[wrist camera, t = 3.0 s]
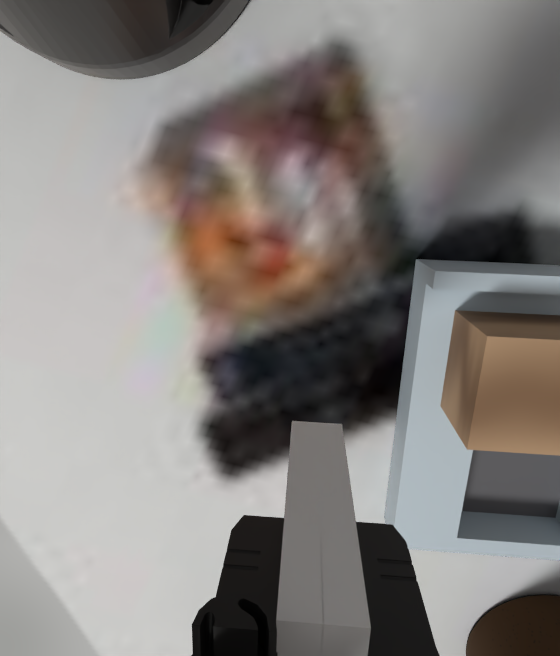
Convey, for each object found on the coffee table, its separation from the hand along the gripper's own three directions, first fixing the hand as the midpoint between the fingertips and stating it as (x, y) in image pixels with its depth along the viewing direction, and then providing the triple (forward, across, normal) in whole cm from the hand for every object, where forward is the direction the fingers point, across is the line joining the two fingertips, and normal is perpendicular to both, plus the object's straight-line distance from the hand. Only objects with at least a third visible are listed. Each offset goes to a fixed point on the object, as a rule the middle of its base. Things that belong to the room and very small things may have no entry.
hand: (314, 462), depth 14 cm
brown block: (+9, +9, 0) cm, 13 cm away
